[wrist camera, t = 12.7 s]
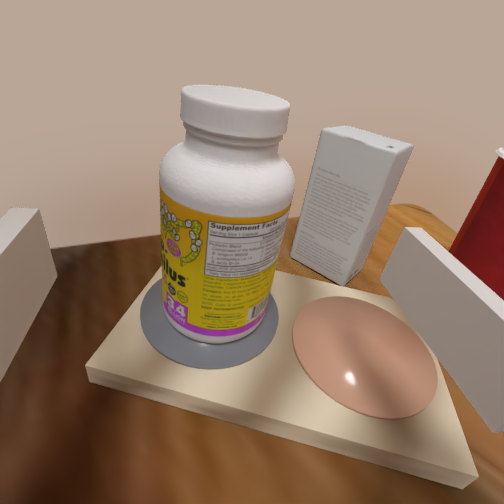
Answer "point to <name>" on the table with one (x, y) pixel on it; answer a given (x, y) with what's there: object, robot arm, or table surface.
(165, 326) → the slate pad
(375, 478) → the table surface
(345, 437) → the birch board
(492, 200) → the paper cup
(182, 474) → the table surface
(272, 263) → the supplement bottle
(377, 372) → the terracotta pad
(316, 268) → the skincare box
